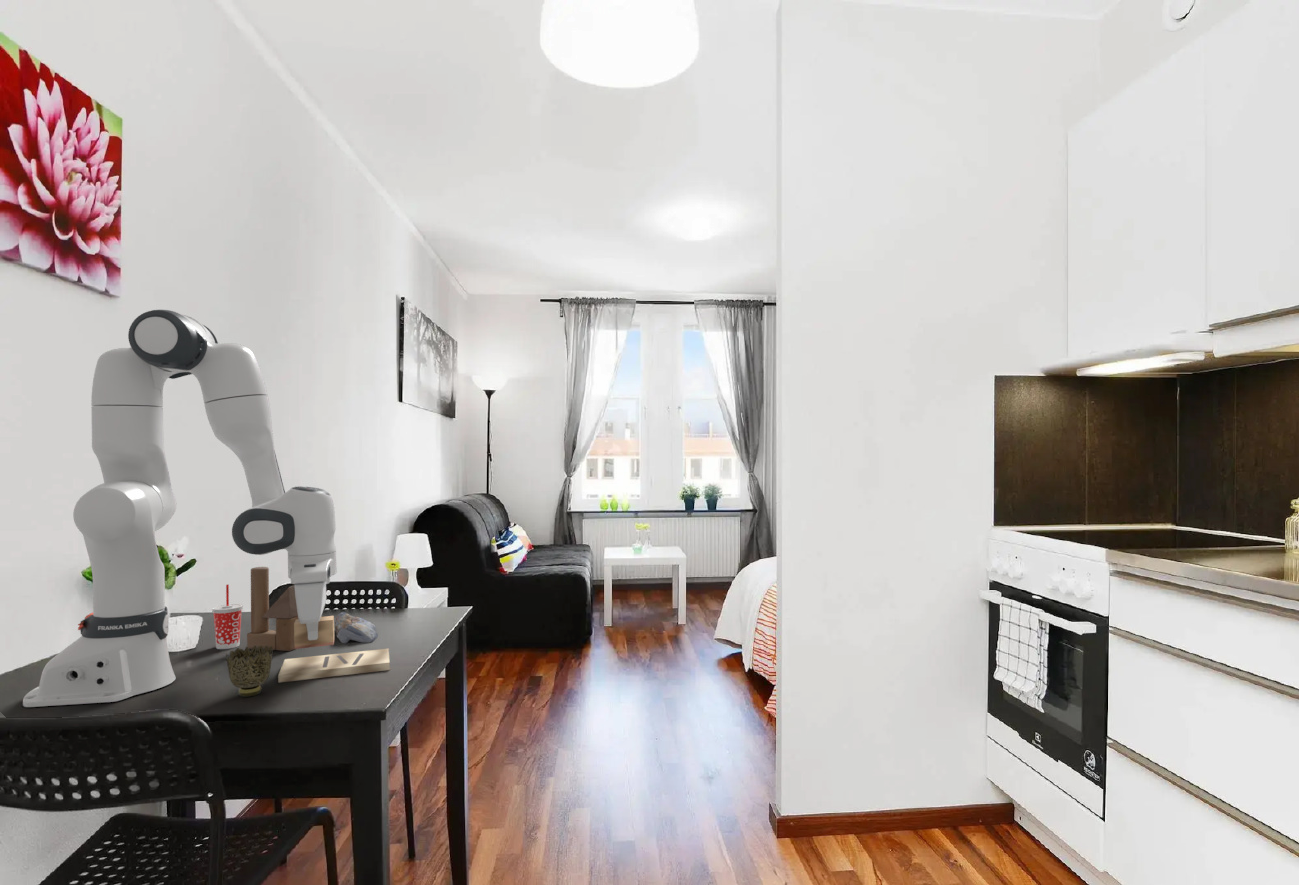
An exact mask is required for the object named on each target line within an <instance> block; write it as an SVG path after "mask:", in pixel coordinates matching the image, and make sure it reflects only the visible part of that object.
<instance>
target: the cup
mask: <svg viewBox="0 0 1299 885" xmlns="http://www.w3.org/2000/svg"><path fill="white" fill-rule="evenodd" d="M273 651H274V650H273V648H272V646H271V647H270V648H269V649H268V646H265V648H264V649H263V647H262V646H259V647H258V648H257V647H256V646H254V647H253V649H249V648H248V647H247V646H246V647H245V649H243V648H239V647H236V649H235V650H230V651H229V655H228V653H225V654H226V655H225V656H226V662H227V671H228V672H227V673H228V675H229V680H230V683H232V685H233V686H234V687H236V688H238V694H239V696H240V697H245V698H249V697H253V696H257V695H258V694H260V693H261V691H262V690H263V689H262V688H263V687H262V685H263V684H264V683H265V682H266V681H267V679H268V678H269V675H270V673H271V667H272V659H273V658H272V657H273Z"/></svg>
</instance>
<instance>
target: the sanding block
mask: <svg viewBox="0 0 1299 885" xmlns="http://www.w3.org/2000/svg"><path fill="white" fill-rule="evenodd" d="M294 644H295V649H294V650H301V649H309V648H317V647H318V648H319V647H327V646H334V644H335V616H334V615H329V616H328V615H327V616H321V619H320V621H319V622H318V639H316V640H308V631H307V626H306V624H301V623H300V622H299V619H296V621H295V623H294Z"/></svg>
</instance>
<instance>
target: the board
mask: <svg viewBox="0 0 1299 885" xmlns="http://www.w3.org/2000/svg"><path fill="white" fill-rule="evenodd" d="M390 663H391V662H390V648H381V649H372V650H371V649H370V650H362V651H351V652H341V653H333V654H331V653H330V654H324V655H323V654H322V655H321V654H320V655H314V656H311V655H310V656H304V657H295V658H284V660H283V663H282V665H281V668H280V670H279V672H278V676H277V678H278V681H277V682H278V683H287V682H295V681H304V680H312V679H313V680H314V679H320V678H331V677H340V676H348V675H356V674H357V675H358V674H367V673H375V672H376V673H377V672H383V671H390V670H391V667H390V666H391V665H390Z"/></svg>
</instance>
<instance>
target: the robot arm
mask: <svg viewBox="0 0 1299 885" xmlns="http://www.w3.org/2000/svg"><path fill="white" fill-rule="evenodd" d="M127 335H128V338H127V339H128V343H129V345H130V347H117V348H113V349H111V350H107V351H105V352H103V353H102V354H101V355H100V356H99V357H98V359H97V362H96V365H95V369H94V374H93V380H92V386H91V448H92V451H93V453H94V454H95V456H96V459H97V460H98V463H99V467H100V470H101V473H102V478H103V483H101V484H98V485H96V486H95V487H93V488H91V489H89V490H88V491H86V492H85V493H84V494H83V495H82V496H81V497H79V499H78V501H77V502H76V504H75V506H74V508H73V520H74V524H75V527H77V529H78V531H79V532H80V533H81V534H82V537H83V540H84V544H85V547H86V552H87V554H88V555H87V556H88V558H89V563H90V568H91V573H92V603H93V604H92V606H93V607H92V608H93V609H92V611H93V612H91V613H89V614H86V616H85V617H84V619H82V620H81V621H80V623H78V624H77V625H78V628H77V630H78V631H79V632H80V635H81V636H80V637H78V638H77V639H76V640H75V641H73V642H72V643H70V644H69V645H68V646H67V647H65V648H64V649H63V650H61V651H60V652H59V653H57V654H56V655H55V656H54V657H53V658H51V659H50V660H49V661H48V662H47V663H46V664H45V666H44V668H43V669H42V672H41V676H40V680H39V685H38V686H37V687H35V688H33V689H32V690H30V691H28V692H27V693H26V694H25V695H24V697H23V699H22V706H23V707H24V708H36V707H48V706H49V707H50V706H67V705H69V706H70V705H83V704H97V703H98V704H101V703H111V702H112V703H113V702H119V701H122V700H125V699H129V698H130V697H133V696H136V695H141V694H144V693H148V692H151V691H155V690H157V689H160V688H163V687H166V686H168V685H170V684H172V683H173V682H175V680H176V675H175V672H174V669H173V667H172V663H171V659H170V654H169V648H168V647H169V646H168V640H167V637H168V635H169V614H168V613H169V612H168V607H167V606H166V598H165V597H166V587H165V586H166V585H165V584H166V582H165V581H166V578H165V577H166V576H165V572H166V571H165V570H166V569H165V565H164V562H162V560H161V557H160V553H159V549H158V546H157V541H156V536H155V533H156V532H157V531H159V530H160V529H162V528H163V527H164V526H165V525H167V523H169V521H170V520H171V519H172V518H173V516H174V514H175V512H176V509H177V498H176V496H175V494H174V492H173V489H172V484H171V478H170V471H169V468H168V464H167V459H166V454H165V446H164V445H165V444H164V442H165V441H164V440H165V439H164V401H163V399H164V395H163V391H164V386H165V382H166V381H167V379H172V380H174V379H178V378H182V377H186V376H190V375H193V377H195V378H196V379H197V381H198V384H199V386H200V389H201V392H202V393H201V394H202V398H203V403H204V408H205V413H206V418H207V420H208V422H209V425H210V427H211V430H212V432H213V434H214V436H215V438H216V439H217V440H218V441H220V442H221V443H222V444H224V445H225V446H226V447H227V448H228V449H230V450H231V451H232V452H233V453H234V455H235V456H236V457H237V459H239V461H240V462H241V465H242V468H243V470H244V473H245V475H244V476H245V478H246V483H247V485H248V490H249V493H250V497H251V504H252V505H251V507H250V508H248V509H245V510H244V511H242V512H241V513H240V514H238V516H237V517H236V518H235V520H234V522H233V524H232V528H231V535H232V536H231V537H232V540H233V542H234V544H235V545H236V547H238V548H239V550H241V551H243V552H245V553H247V554H250V555H256V556H257V555H259V556H262V555H263V556H264V555H268V554H270V553H272V552H276V551H279V550H286V551H287V577H288V579H290V584H292V585H294V586H295V597H296V605H297V613H298V618H299V622H300V623H301V624H306V626H307V631H308V640H316V639H318V622H319V621H320V619H321V617H322V616H323V612H324V609H325V607H326V602H327V585H328V584H331V583H330V582H331V577H333V576H335V575H336V574H337V572H338V571H337V548H336V545H335V540H334V537H335V533H336V514H335V513H336V511H335V507H334V504H335V503H334V501H333V497H332V495H331V494H330V493H329V491H327V490H325V489H323V488H318V487H312V486H300V485H299V486H294V487H291V488H290V489H289V490H287V491H285V486H284V483H283V480H282V476H281V472H280V471H281V470H280V467H279V463H278V460H277V455H276V452H275V443H274V433H273V423H272V412H271V404H270V401H269V396H268V395H269V394H268V390H267V387H266V382H265V380H264V379H265V378H264V376H263V372H262V370H261V368H260V365H259V362H258V360H257V358H256V356H255V354H254V352H253V351H252V350H251V349H250V348H249V347H247V346H245V345H242V344H238V343H233V342H225V343H219V341H218V339H217V338H216V335H215V334H214V333H213V332H212V330H211V329H210V328H209V327H207V326H206V325H204V324H202V322H199V321H198V320H196V319H195V318H193V317H190V316H188V315H185V314H181V313H179V312H176V311H174V310H169V309H152V310H147V311H146V312H143V313H141V314H140V315H138V316H137V317H136V318H135V319H134V320H133V321H132V323H131V324H130V326H129V329H128V334H127Z"/></svg>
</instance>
